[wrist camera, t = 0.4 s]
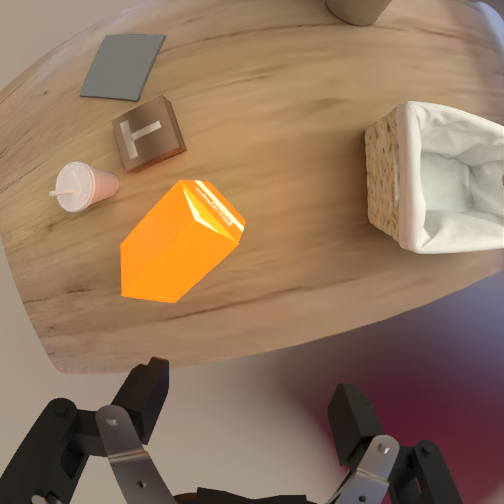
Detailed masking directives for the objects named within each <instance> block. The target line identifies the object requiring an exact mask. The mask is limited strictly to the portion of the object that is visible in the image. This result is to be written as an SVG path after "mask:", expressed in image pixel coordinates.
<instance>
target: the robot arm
mask: <svg viewBox="0 0 504 504" xmlns="http://www.w3.org/2000/svg"><path fill="white" fill-rule="evenodd" d="M391 1H392V0H326V4H327V6H328V8H329V10H330V11H331V12H332V13H333V14H334V15H336V16H337V17H338V18H340V19H342V20H343V21H346V22H348V23H351V24H354V25H359V26H366V25H370V24H373V23H374V22H375V21H376V20H377V18H378V17H379V16H380V14H381V13H382V12H383V11H384V10H385V8H386V7H387V6H388V5H389V3H390V2H391ZM168 389H169V361H168V360H166V359H162V358H158V357H154V356H153V357H152V358H151V360H150V362H149V363H148V365H143V364H139V365H138V366H136V367H135V368H133V369H132V370H131V372H130V374H129V375H128V378H126V380H125V382H124V384H123V385H122V387H121V388H120V390H119V391H118V393H117V395H116V396H115V398H114V400H113V401H112V403H111V404H110V405H106V406H103V407H101V408H100V409H98V411H87V410H79V409H77V408H76V405H75V404H74V403H73V402H72V401H70V400H68V399H65V398H57V399H54V400H52V401H50V402H49V403H48V405H47V406H46V407H45V409H44V410H43V412H42V413H41V415H40V416H39V418H38V419H37V420H36V422H35V424H34V425H33V426H32V428H31V429H30V431H29V433H28V434H27V435H26V437H25V438H24V440H23V442H22V443H21V445H20V446H19V448H18V449H17V451H16V453H15V454H14V456H13V458H12V459H11V461H10V463H9V464H8V466H7V468H6V469H5V471H4V473H3V474H2V476H1V478H0V504H69V503H70V501H71V498H72V496H73V493H74V491H75V488H76V486H77V484H78V481H79V479H80V476H81V474H82V471H83V469H84V467H85V465H86V462H87V460H88V458H89V456H90V455H93V456H102V457H108V460H109V462H110V465H111V467H112V470H113V472H114V475H115V477H116V480H117V482H118V485H119V487H120V489H121V491H122V493H123V495H124V498H125V500H126V502H127V504H316V503H314V502H310V501H307V499H306V495H279V496H273V497H268V498H261V499H249V498H245V497H242V496H238V495H235V494H232V493H228V492H226V491H219V490H213V489H206V488H201V487H198V489H197V493H184V494H179V495H176V496H172V494H171V493H170V491H169V489H168V488H167V486H166V484H165V483H164V481H163V479H162V477H161V476H160V474H159V472H158V470H157V468H156V467H155V465H154V463H153V461H152V459H151V457H150V455H149V454H148V452H147V451H145V450H144V448H143V446H142V444H144V445H147V444H148V442H149V439H150V436H151V434H152V432H153V429H154V427H155V424H156V421H157V419H158V416H159V414H160V411H161V409H162V406H163V404H164V401H165V399H166V396H167V394H168ZM327 415H328V420H329V423H330V427H331V431H332V435H333V439H334V443H335V447H336V451H337V455H338V459H339V463H340V466H349V467H350V470H349V471H348V473H347V474H346V476H345V477H344V479H343V480H342V482H341V484H340V485H339V487H338V488H337V489H336V491H335V492H334V494H333V495H332V497H331V498H330V499H329V500H328V502H327V503H326V504H380V503H381V501H382V499H383V497H384V495H385V493H386V491H387V489H388V492H389V495H390V499H391V503H392V504H463V502H462V500H461V497H460V495H459V492H458V490H457V488H456V485H455V483H454V481H453V478H452V476H451V474H450V472H449V469H448V468H447V465H446V463H445V461H444V459H443V456H442V454H441V452H440V450H439V448H438V446H437V445H436V444H435V443H433V442H432V441H429V440H421V441H419V442H418V443H417V444H416V445H415V446H414V447H408V446H400V445H399V444H398V443H397V441H396V440H395V439H394V438H392V437H390V436H387V435H385V433H384V431H383V429H382V426H381V424H380V422H379V419H378V418H377V415H375V411H374V409H373V406H372V404H371V402H370V400H369V399H368V398H367V397H366V396H365V395H364V394H363V393H359V391H358V389H357V387H356V385H355V384H354V383H339V384H338V386H337V388H336V390H335V392H334V394H333V397H332V399H331V401H330V403H329V406H328V410H327ZM416 479H417V480H418V483H419V486H420V489H421V493H420V491H419V488H418V485H417V482H416Z"/></svg>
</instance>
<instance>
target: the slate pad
mask: <svg viewBox="0 0 504 504" xmlns="http://www.w3.org/2000/svg"><path fill="white" fill-rule="evenodd" d="M165 38H166V36H165V35H148V34H125V35H106V36H105V38H104V40H103V42H102V44H101V46H100V48H99V50H98V52H97V54H96V56H95V59H94V61H93V63H92V65H91V68H90V70H89V72H88V75H87V77H86V80H85V82H84V85H83V87H82V90H81V93H80V96H87V97H102V98H113V99H123V100H131V101H139V98H140V96H141V93H142V90H143V88H144V85H145V83H146V80H147V78H148V75H149V73H150V70H151V68H152V66H153V63H154V61H155V59H156V57H157V55H158V52H159V50H160V48H161V46H162V44H163V42H164V40H165Z"/></svg>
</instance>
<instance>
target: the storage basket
mask: <svg viewBox="0 0 504 504" xmlns="http://www.w3.org/2000/svg"><path fill="white" fill-rule="evenodd" d="M365 144H366V148H365V152H366V169H367V173H368V175H367V189H368V198H367V201H368V219H369V222H370V223H371V224H373V225H374V226H375V227H377V228H378V229H380V230H382V231H384V233H386V234H388V235H389V236H392V237H393V239H394V240H395V241H397V242H398V243H399V245H400V247H402V248H403V249H405V250H411V251H413V252H415V253H418V254H441V253H458V252H473V251H482V250H492V249H502V248H504V187H503V184H502V176H503V175H504V127H503V126H501V125H499V124H497V123H494V122H492V121H489V120H486V119H484V118H481V117H478V116H476V115H472V114H470V113H467V112H464V111H461V110H458V109H455V108H452V107H448V106H444V105H439V104H432V103H425V102H416V101H408V102H404V103H402V104H399V105H398V107H395V108H394V109H393V110H392V111H391V112H390V113H389V114H388V115H387V116H385V117H383V118H381V119H380V120H379V121H378V122H375V124H373V125H372V126H368V128H367V129H366V131H365Z"/></svg>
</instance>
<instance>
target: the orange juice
mask: <svg viewBox="0 0 504 504" xmlns="http://www.w3.org/2000/svg"><path fill="white" fill-rule="evenodd" d="M245 222H246V221H245V220H244V219H243V218H242V217H241V216H240V215H239V214H238V212H237V211H236V210H235V209H234V208H233V207H232V206H231V205H230V204H229V203H228V202H227V201H226V200H225V198H224V197H223V196H222V195H221V194H220V193H219V192H218V191H217V190H216V189H215V188H214V187H213V186H212V185H211V183H210V182H203V181H187V180H179V181H178V182H177V183H176V184H175V185H174V186H173V187H172V189H171V190H170V191H169V192H168V193H167V194H166V195H165V196H164V197H163V198H162V199H161V200H160V201H159V202H158V203H157V204H156V205H155V207H154V208H153V209H152V210H151V211H150V212H149V213H148V214H147V215H146V216H145V218H144V219H143V220H142V221H141V222H140V223H139V224H138V225H137V227H136V228H135V229H134V230H133V231H132V232H131V233H130V235H129V236H128V237H127V238H126V239H125V241H124V242H123V243H122V244H121V246H120V247H121V281H122V295H121V296H126V297H133V298H140V299H147V300H155V301H163V302H171V303H175V302H176V301H177V300H178V299H179V298H180V297H182V296H183V295H184V294H185V293H186V292H187V291H188V290H189V289H190V288H191V287H192V286H194V285H195V284H196V283H197V282H198V281H199V280H200V279H201V278H202V277H203V276H204V275H206V274H207V273H208V272H209V271H210V270H211V269H212V268H213V267H214V266H216V265H217V264H218V263H219V262H220V261H221V260H222V259H223V258H224V257H225V256H227V255H228V254H229V253H230V252H231V251H232V250H233V249H234V248H235V247H237V246H238V245H239V244H238V242H239V240H240V237H241V234H242V232H243V229H244V225H245Z"/></svg>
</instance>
